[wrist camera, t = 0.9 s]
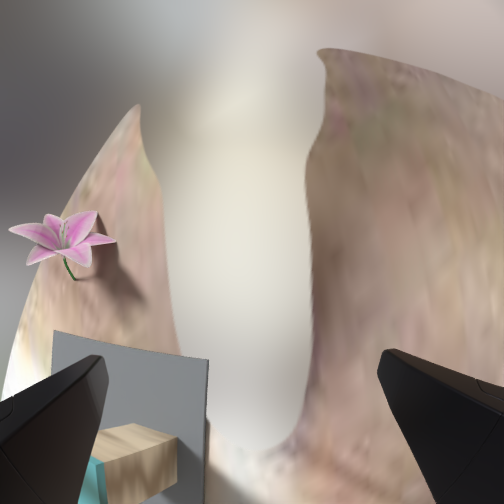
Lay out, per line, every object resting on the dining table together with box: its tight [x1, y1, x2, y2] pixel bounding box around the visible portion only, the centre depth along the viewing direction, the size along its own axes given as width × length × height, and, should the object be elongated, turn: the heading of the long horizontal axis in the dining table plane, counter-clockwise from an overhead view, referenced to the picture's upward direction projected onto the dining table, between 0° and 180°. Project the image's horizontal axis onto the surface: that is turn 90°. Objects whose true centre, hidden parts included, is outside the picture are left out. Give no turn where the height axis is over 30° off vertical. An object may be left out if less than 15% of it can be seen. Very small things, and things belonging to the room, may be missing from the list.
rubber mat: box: [51, 330, 209, 504], centre depth 24 cm, size 20×22×1 cm
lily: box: [9, 211, 116, 280], centre depth 29 cm, size 12×12×10 cm
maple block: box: [78, 423, 177, 504], centre depth 17 cm, size 5×5×10 cm
